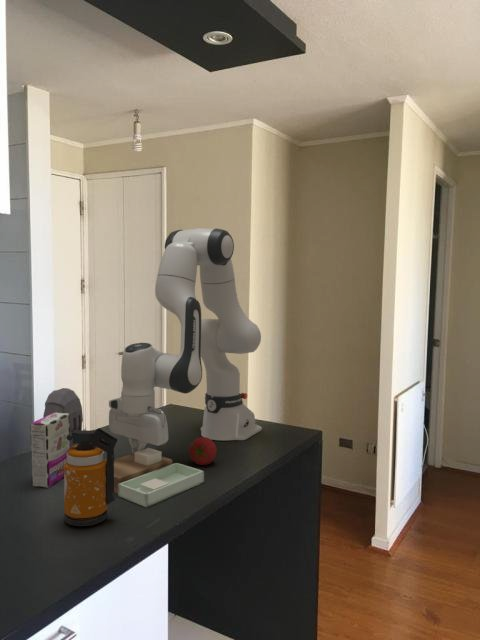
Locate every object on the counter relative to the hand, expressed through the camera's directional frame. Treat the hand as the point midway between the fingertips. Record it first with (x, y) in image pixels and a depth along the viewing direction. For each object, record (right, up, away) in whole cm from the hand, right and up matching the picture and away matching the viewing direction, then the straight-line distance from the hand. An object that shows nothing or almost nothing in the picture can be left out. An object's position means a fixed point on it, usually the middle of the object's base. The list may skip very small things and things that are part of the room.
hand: (137, 454), depth 148 cm
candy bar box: (-21, -5, -6) cm, 23 cm away
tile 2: (+3, -1, -2) cm, 4 cm away
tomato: (+17, -5, +8) cm, 19 cm away
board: (-1, -5, -4) cm, 7 cm away
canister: (-5, -7, -29) cm, 30 cm away
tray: (+8, -6, -11) cm, 15 cm away
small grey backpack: (-24, -4, +14) cm, 28 cm away
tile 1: (+7, -3, -15) cm, 17 cm away
